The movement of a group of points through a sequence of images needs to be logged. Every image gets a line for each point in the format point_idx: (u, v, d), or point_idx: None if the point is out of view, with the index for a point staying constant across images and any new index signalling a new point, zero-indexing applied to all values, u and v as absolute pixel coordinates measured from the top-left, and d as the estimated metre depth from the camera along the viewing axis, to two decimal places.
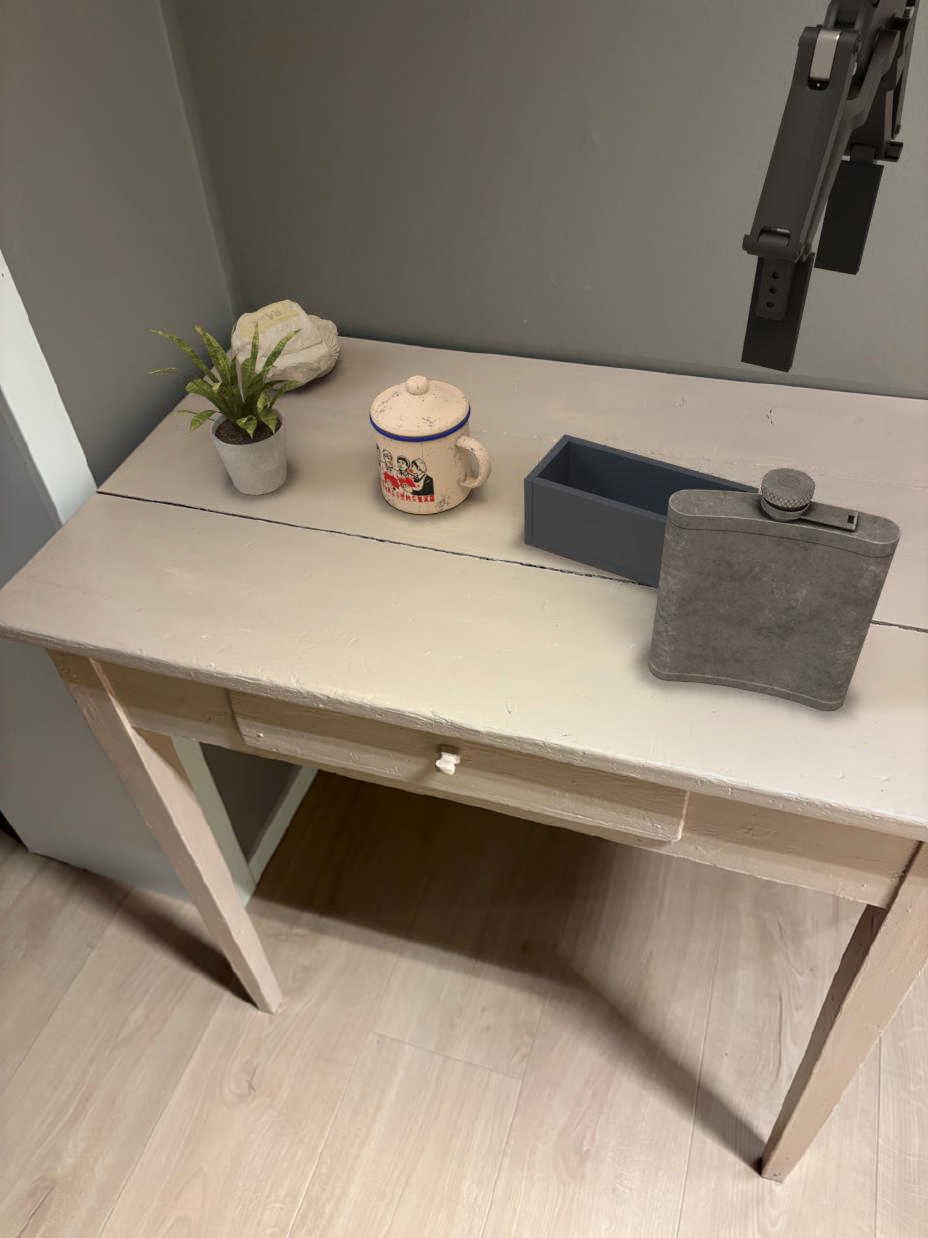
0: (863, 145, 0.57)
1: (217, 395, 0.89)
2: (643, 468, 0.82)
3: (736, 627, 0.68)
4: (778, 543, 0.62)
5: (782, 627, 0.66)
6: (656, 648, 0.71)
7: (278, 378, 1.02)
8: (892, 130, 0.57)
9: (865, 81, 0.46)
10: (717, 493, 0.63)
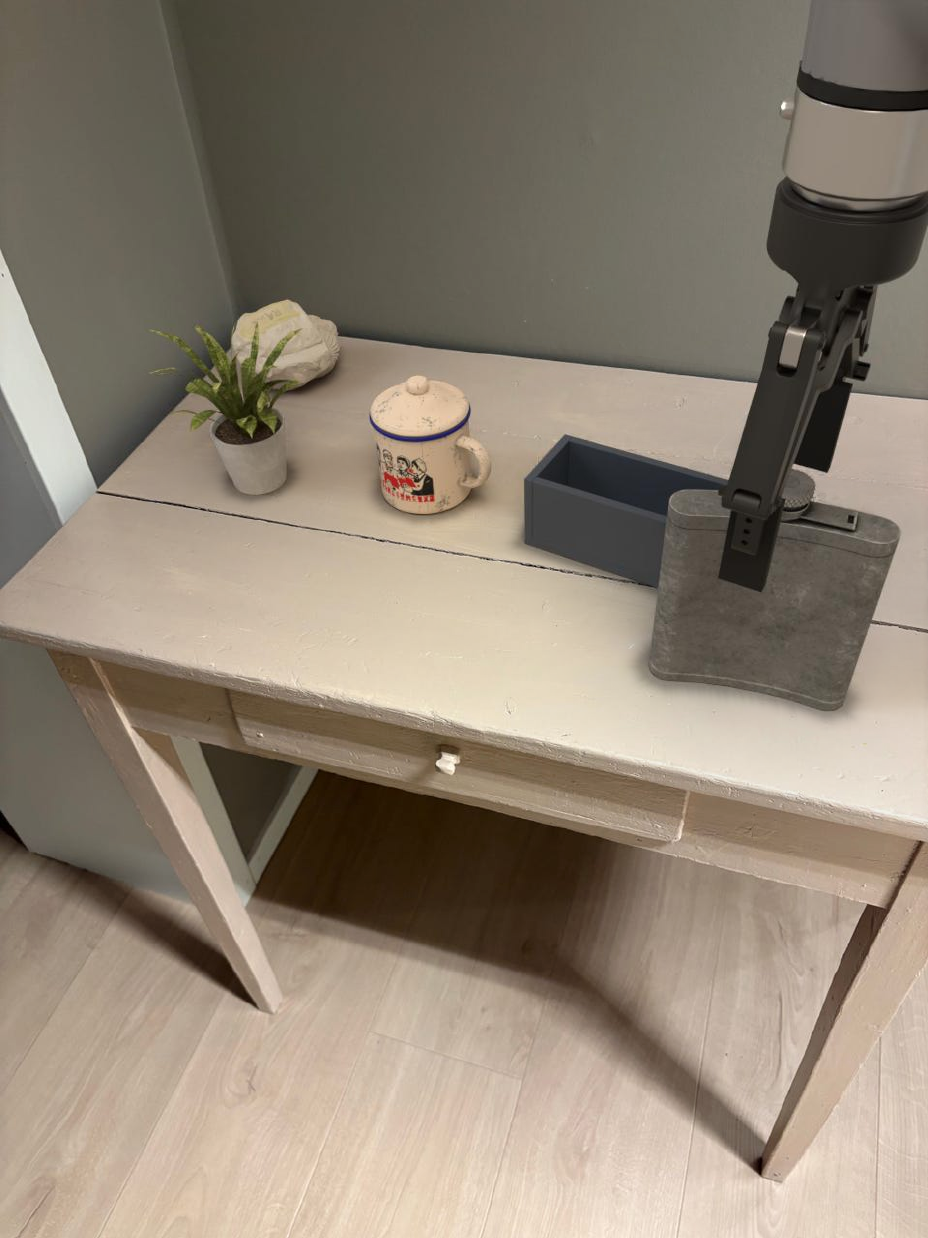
0: None
1: (217, 395, 0.89)
2: (643, 468, 0.82)
3: (736, 627, 0.68)
4: (778, 543, 0.62)
5: (782, 627, 0.66)
6: (656, 648, 0.71)
7: (278, 378, 1.02)
8: (860, 350, 0.61)
9: (830, 355, 0.50)
10: (717, 493, 0.63)
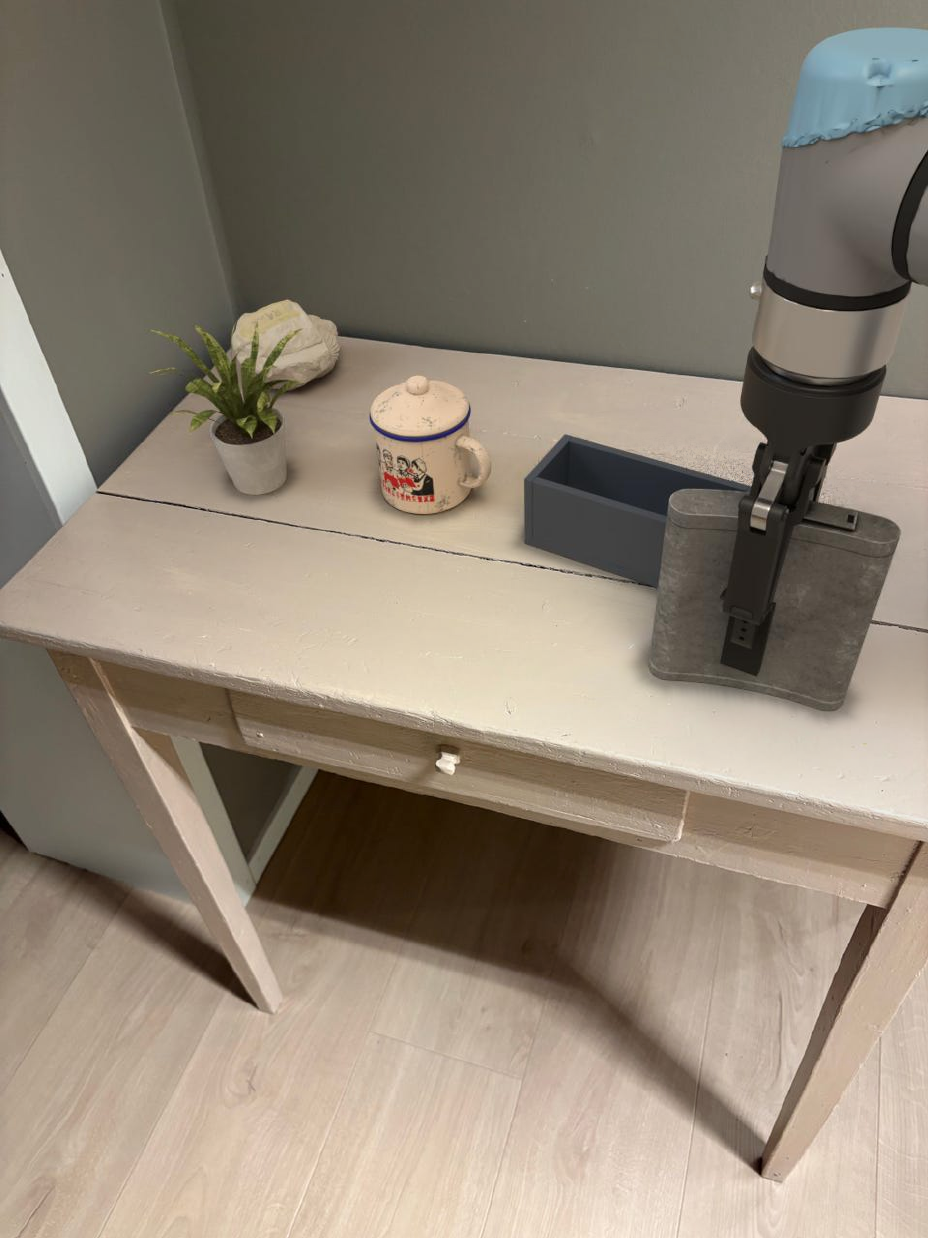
0: None
1: (217, 395, 0.89)
2: (643, 468, 0.82)
3: None
4: None
5: (782, 626, 0.66)
6: (656, 648, 0.71)
7: (278, 378, 1.02)
8: None
9: (799, 500, 0.58)
10: (717, 492, 0.63)
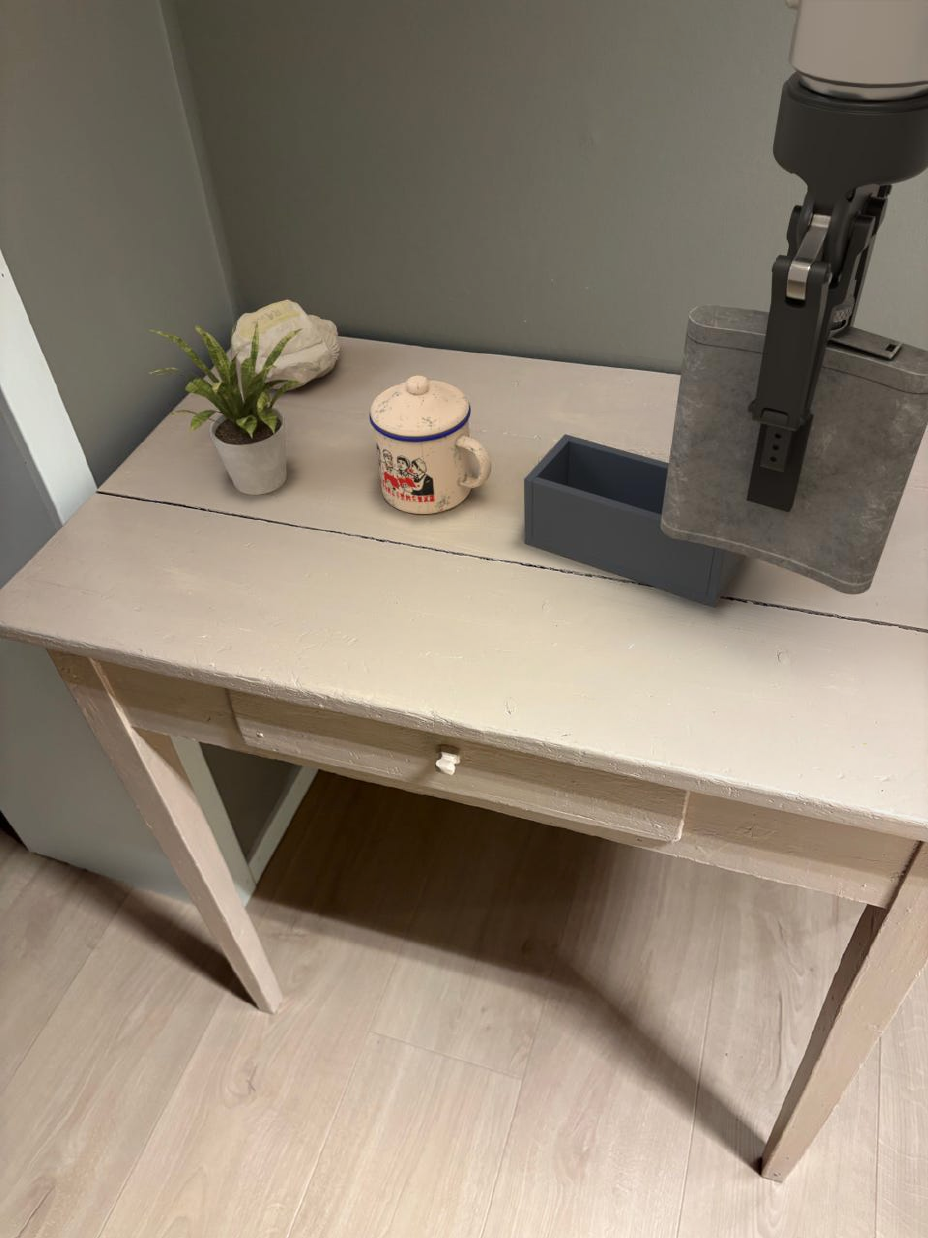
0: None
1: (217, 395, 0.89)
2: (643, 468, 0.82)
3: None
4: None
5: (803, 482, 0.59)
6: (667, 498, 0.64)
7: (278, 378, 1.02)
8: None
9: (843, 272, 0.49)
10: (747, 311, 0.56)
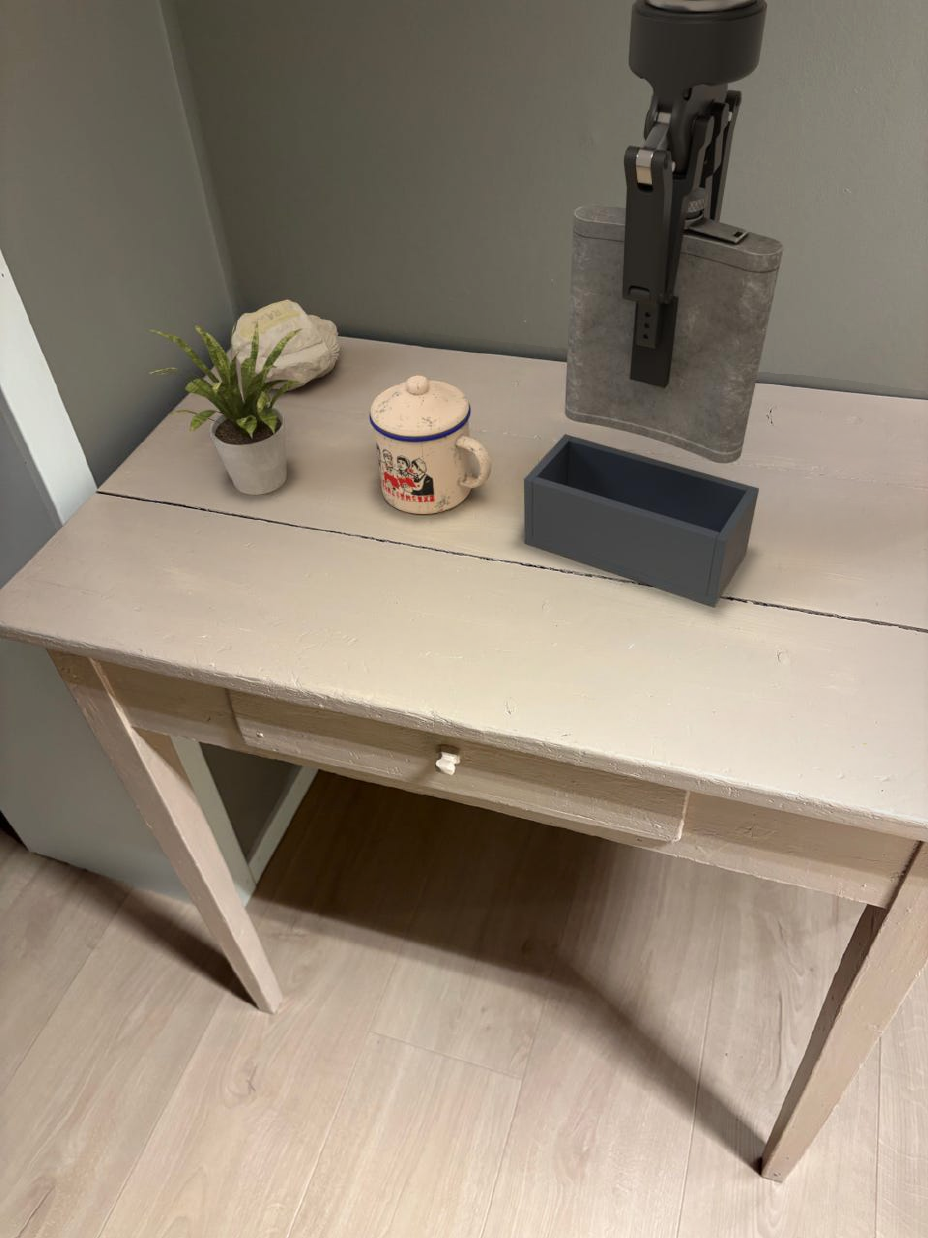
0: None
1: (217, 395, 0.89)
2: (643, 468, 0.82)
3: None
4: None
5: (676, 360, 0.68)
6: (567, 384, 0.74)
7: (278, 378, 1.02)
8: None
9: (690, 165, 0.58)
10: (624, 209, 0.65)
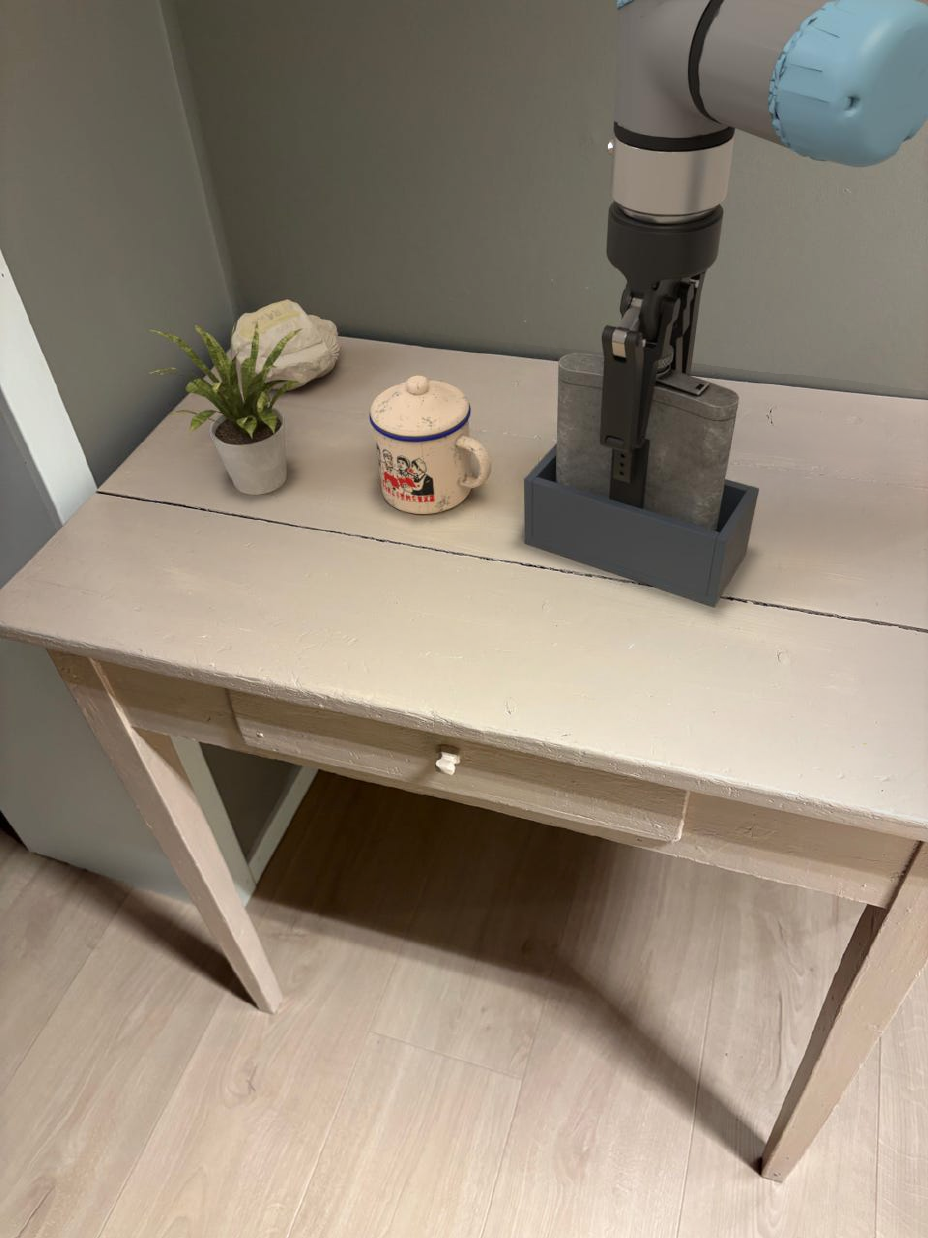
0: None
1: (217, 395, 0.89)
2: None
3: None
4: None
5: (651, 486, 0.77)
6: None
7: (278, 378, 1.02)
8: None
9: (659, 337, 0.67)
10: (602, 358, 0.75)
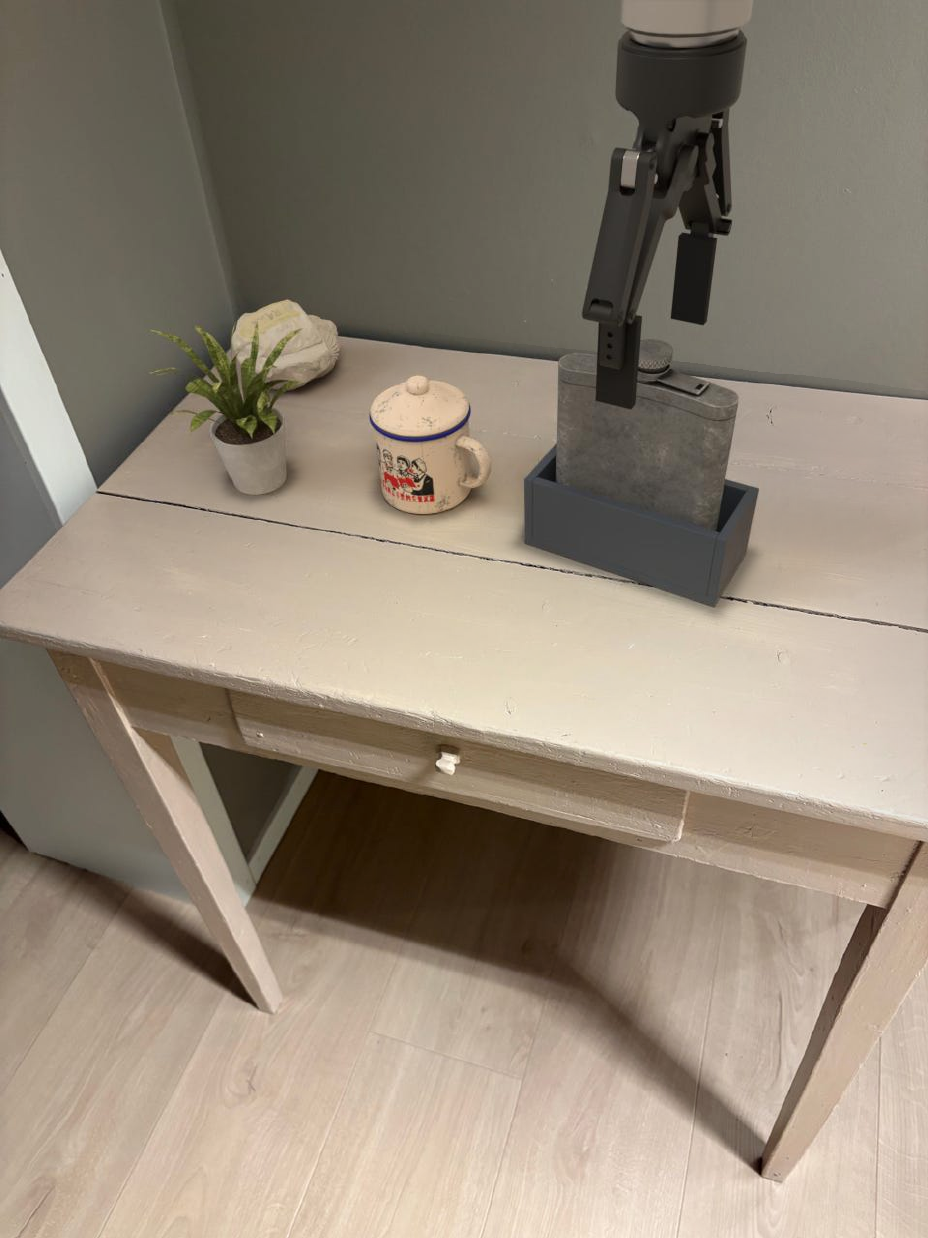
0: (699, 222, 0.70)
1: (217, 395, 0.89)
2: None
3: (616, 483, 0.79)
4: (641, 403, 0.73)
5: (651, 486, 0.77)
6: None
7: (278, 378, 1.02)
8: (723, 209, 0.70)
9: (671, 184, 0.59)
10: None
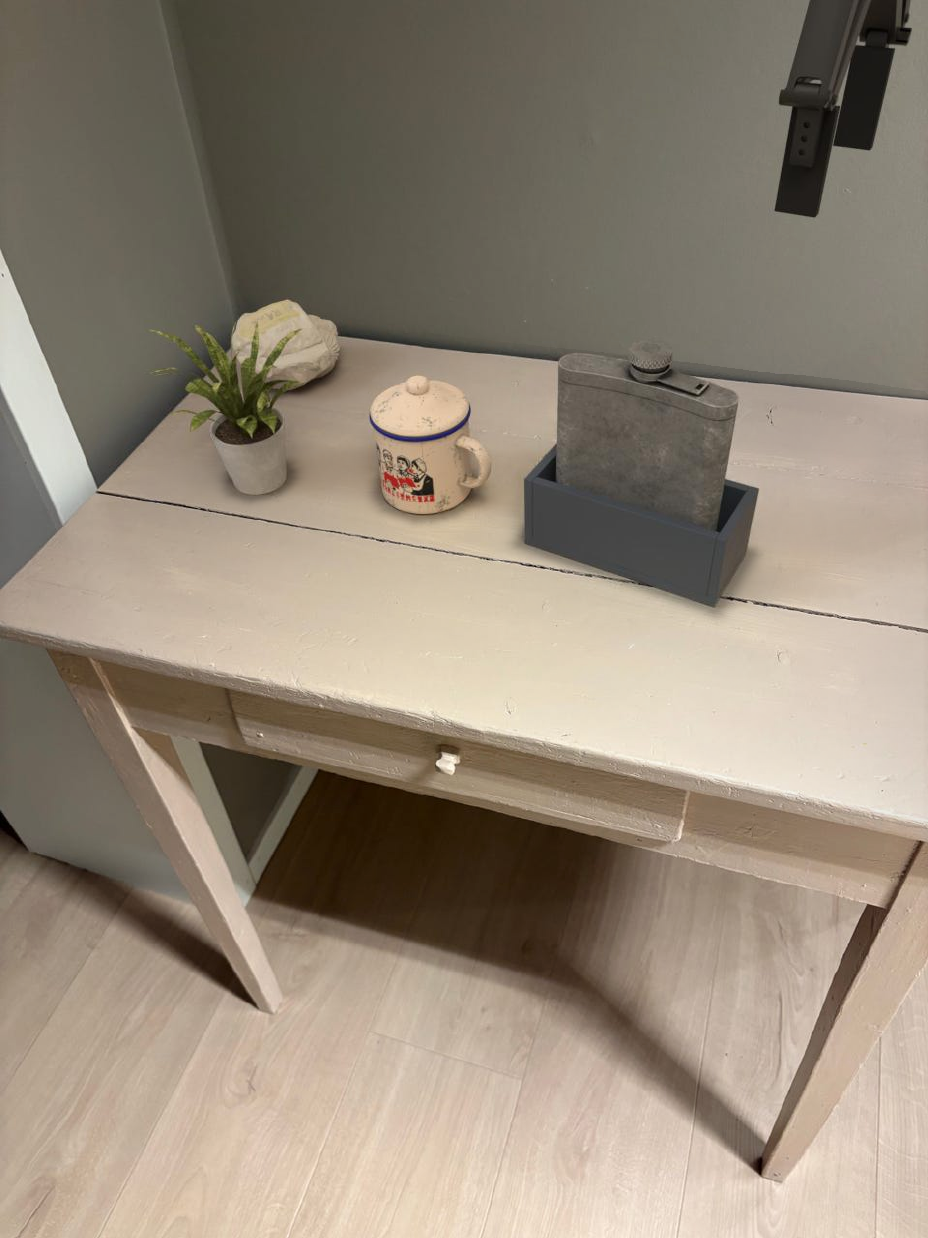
0: (877, 31, 0.67)
1: (217, 395, 0.89)
2: None
3: (616, 483, 0.79)
4: (641, 403, 0.73)
5: (651, 486, 0.77)
6: None
7: (278, 378, 1.02)
8: (902, 18, 0.67)
9: None
10: (602, 358, 0.75)
